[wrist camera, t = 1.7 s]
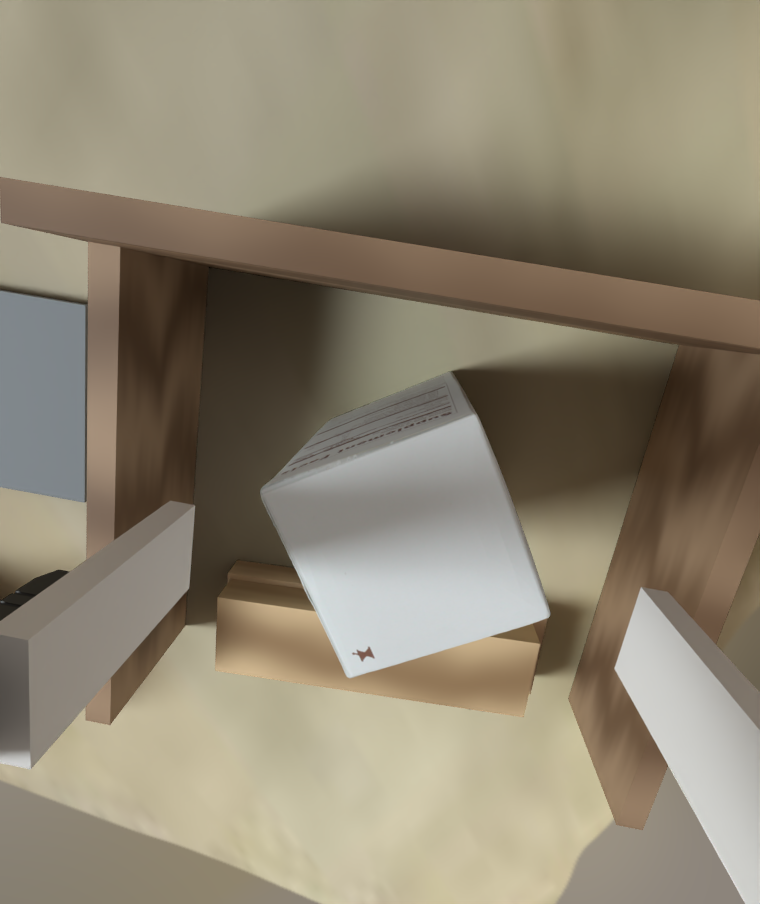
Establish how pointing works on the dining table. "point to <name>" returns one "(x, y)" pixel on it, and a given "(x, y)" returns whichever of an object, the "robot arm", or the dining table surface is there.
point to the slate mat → (43, 395)
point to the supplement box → (405, 530)
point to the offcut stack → (316, 663)
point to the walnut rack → (441, 283)
